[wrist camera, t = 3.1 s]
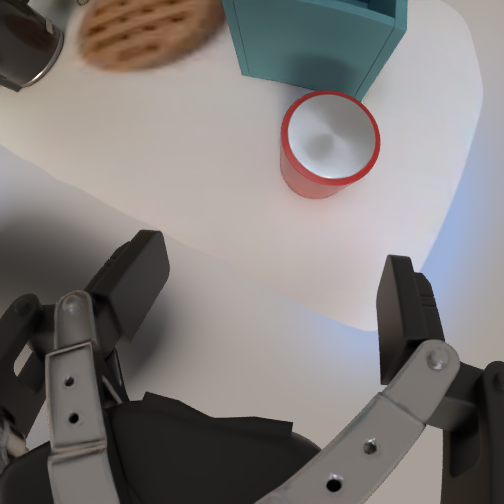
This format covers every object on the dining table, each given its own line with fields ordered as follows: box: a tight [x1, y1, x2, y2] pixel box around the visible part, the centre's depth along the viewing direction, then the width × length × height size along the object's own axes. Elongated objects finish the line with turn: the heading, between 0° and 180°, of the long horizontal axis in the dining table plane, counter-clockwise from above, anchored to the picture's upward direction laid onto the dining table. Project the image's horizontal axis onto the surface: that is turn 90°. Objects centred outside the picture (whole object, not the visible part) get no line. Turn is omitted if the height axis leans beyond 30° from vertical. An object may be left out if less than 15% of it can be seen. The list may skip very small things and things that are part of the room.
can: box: [280, 90, 380, 199], centre depth 23 cm, size 6×6×10 cm
